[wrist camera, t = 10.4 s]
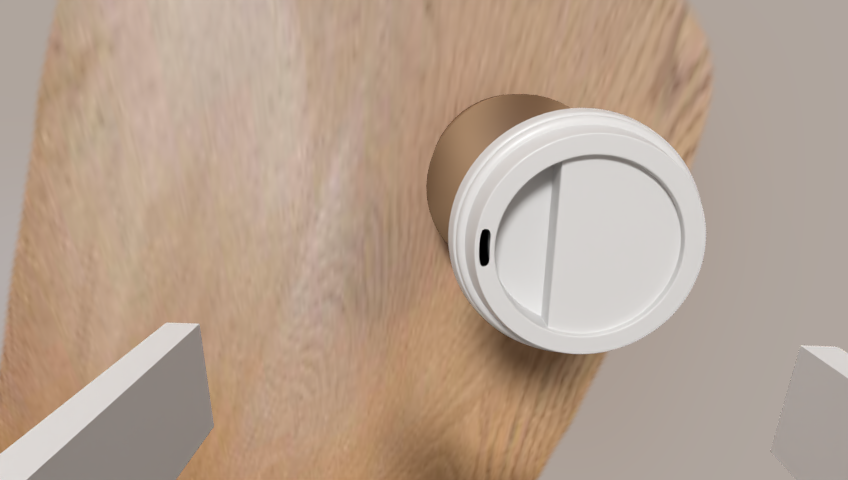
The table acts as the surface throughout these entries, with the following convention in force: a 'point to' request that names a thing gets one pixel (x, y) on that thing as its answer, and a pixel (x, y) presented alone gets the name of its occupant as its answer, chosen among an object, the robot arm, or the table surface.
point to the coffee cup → (577, 231)
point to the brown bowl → (474, 145)
